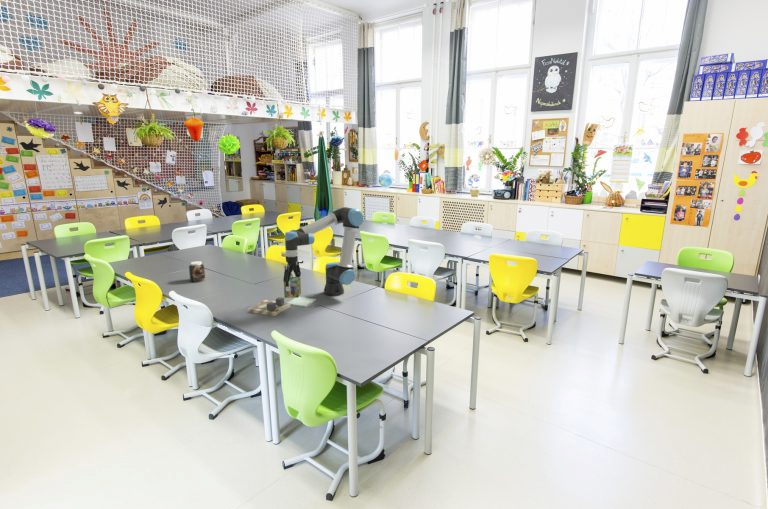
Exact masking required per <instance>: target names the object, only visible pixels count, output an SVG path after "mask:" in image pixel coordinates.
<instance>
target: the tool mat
mask: <svg viewBox="0 0 768 509" xmlns="http://www.w3.org/2000/svg"><path fill="white" fill-rule="evenodd" d="M316 301H317V299H316V298H311V297H305V296H299V297H298V298H293V299H291V300H289V301H287V302H286V303H291V306H293V307H299V308H300V307H302V308H307V307H308V306H310V305H311V304H313V303H315V302H316Z"/></svg>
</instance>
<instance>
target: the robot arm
mask: <svg viewBox="0 0 768 509" xmlns="http://www.w3.org/2000/svg"><path fill="white" fill-rule="evenodd" d="M364 220H365V218H364V214H363V212H362V211H361V210H360V209H357V208H353V207H347V206H346V207H344V206H343V207H340V208H338V209H334V210H333V211H331V212H329V214H327V215H326V216H324V217H322V218H319V219H317V220H315V221H313V222H310V223H308V224H306V225H304V226H302V227H299V228H298V229H291V230H289V231H286V232H285V233H284V244H285V263H287V264H286V265H284V272H283V280H282V281H283V282H284V281H285V282H286V291H290V281H289V280H290V276H291V273H294V275H295V276H294V277H300V278H301V275H302V272H301V267H300V262H299V260H298V259H299V258H298V257H299V256H298V252H299V251H298V247H301V246H309V245H313V244H314V243H315V242H316V241H315V238H316V237H315V236H314V234H317V233H318V232H320V231H323V230H324V229H327V228H330V227H331V226H336V225H339V224H342V228H343V238H342V244H341V251H340V259H339V260H340V261H337V262H335V261H334V262H332V261H331V262H328V263H327V262H326V264H325V267H324V268H325V284H324V289H323V294H324V295H326V296H330V297H331V296H332V297H333V296H334V297H335V296H336V297H337V296H341V295H344V293H345V289H344V286H345V285H346V286H349V285H351V284H352V283H353V282H354V281H355V280H356V272H355V270H354V266H355V265H353V259H354V258H353V257H354V249H355V243H356V235H357V231H358V230H360V226H361V225H363V222H364ZM291 277H292V276H291Z"/></svg>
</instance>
